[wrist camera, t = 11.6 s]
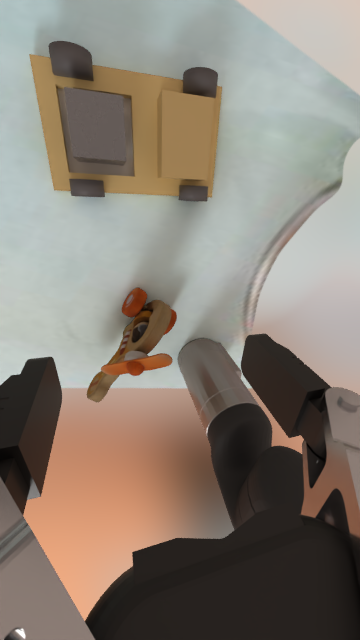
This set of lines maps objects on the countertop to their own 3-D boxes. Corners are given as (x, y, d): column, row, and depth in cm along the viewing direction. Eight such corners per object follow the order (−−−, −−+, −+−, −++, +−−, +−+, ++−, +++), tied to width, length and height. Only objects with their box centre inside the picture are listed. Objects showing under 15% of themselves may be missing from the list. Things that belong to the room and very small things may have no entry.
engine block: (120, 111, 28) (123, 95, 24) (123, 165, 31) (126, 161, 26) (71, 104, 27) (63, 86, 22) (78, 161, 30) (73, 156, 25)
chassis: (217, 85, 30) (233, 70, 26) (207, 200, 36) (219, 202, 32) (32, 54, 25) (18, 29, 21) (57, 194, 31) (49, 195, 27)
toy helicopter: (177, 302, 43) (202, 344, 31) (112, 381, 48) (114, 443, 36) (140, 277, 39) (154, 314, 27) (74, 365, 44) (61, 430, 32)
